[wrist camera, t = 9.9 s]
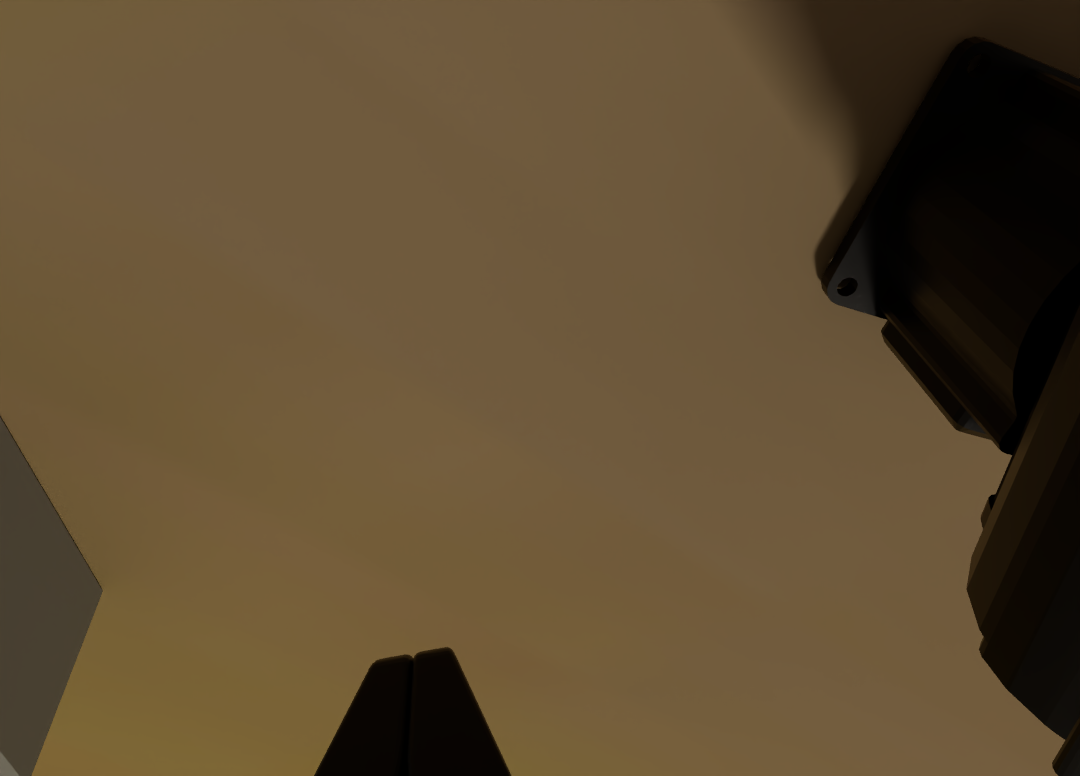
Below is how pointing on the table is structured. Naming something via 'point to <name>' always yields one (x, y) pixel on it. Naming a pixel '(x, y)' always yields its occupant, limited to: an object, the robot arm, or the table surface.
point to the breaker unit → (35, 610)
